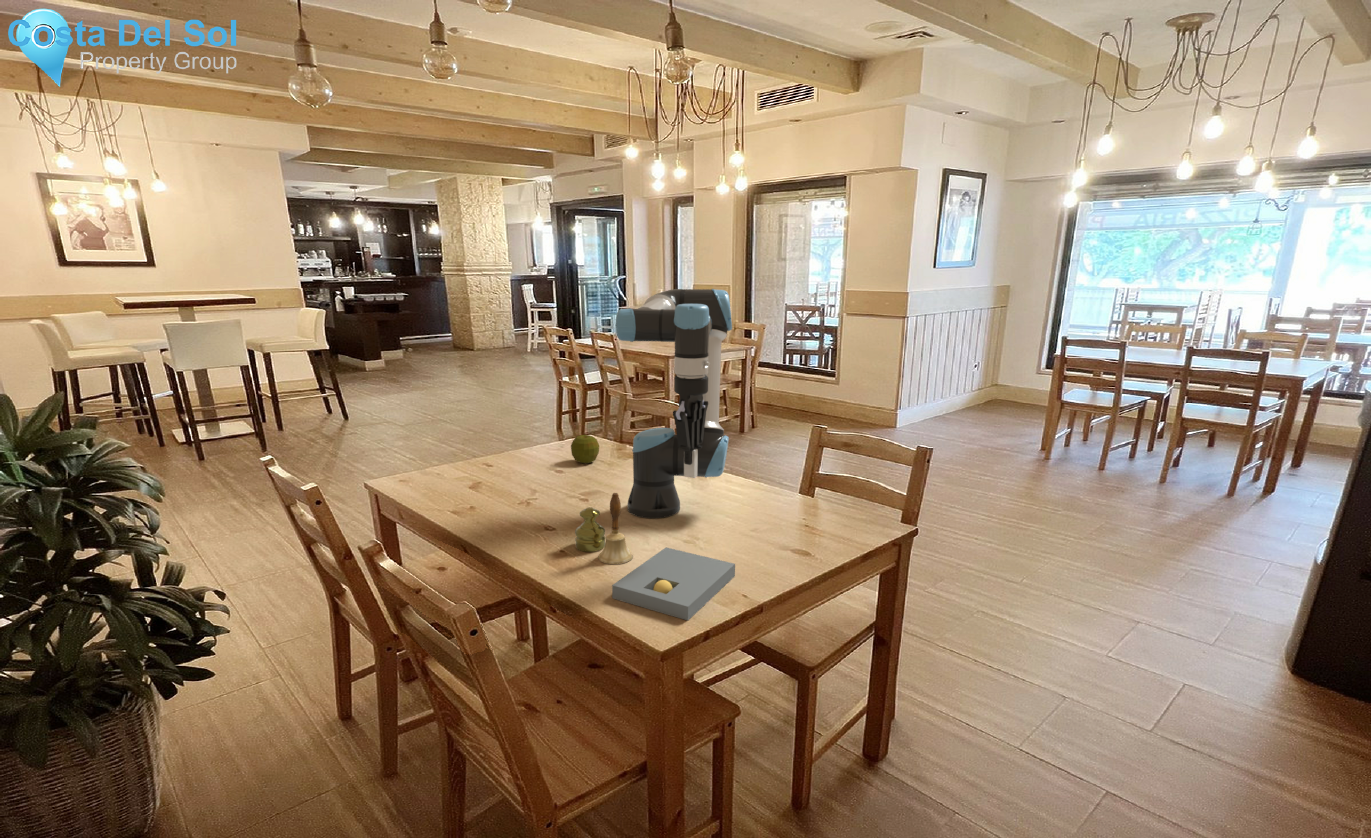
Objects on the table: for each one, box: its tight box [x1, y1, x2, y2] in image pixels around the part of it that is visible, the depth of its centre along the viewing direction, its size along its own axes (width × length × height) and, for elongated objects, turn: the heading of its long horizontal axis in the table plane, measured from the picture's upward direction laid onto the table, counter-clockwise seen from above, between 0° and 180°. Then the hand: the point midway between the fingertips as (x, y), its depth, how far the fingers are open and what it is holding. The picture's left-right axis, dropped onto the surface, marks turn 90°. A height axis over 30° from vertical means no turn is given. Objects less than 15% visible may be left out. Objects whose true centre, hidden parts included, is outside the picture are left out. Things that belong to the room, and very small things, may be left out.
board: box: [611, 547, 736, 621], centre depth 140 cm, size 18×22×3 cm
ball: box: [653, 580, 673, 594], centre depth 135 cm, size 4×4×4 cm
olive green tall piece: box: [574, 506, 606, 553], centre depth 160 cm, size 7×7×10 cm
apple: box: [570, 432, 600, 464], centre depth 231 cm, size 10×10×11 cm
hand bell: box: [598, 492, 634, 565], centre depth 153 cm, size 8×8×16 cm
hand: (690, 476), depth 149 cm, fingers closed
